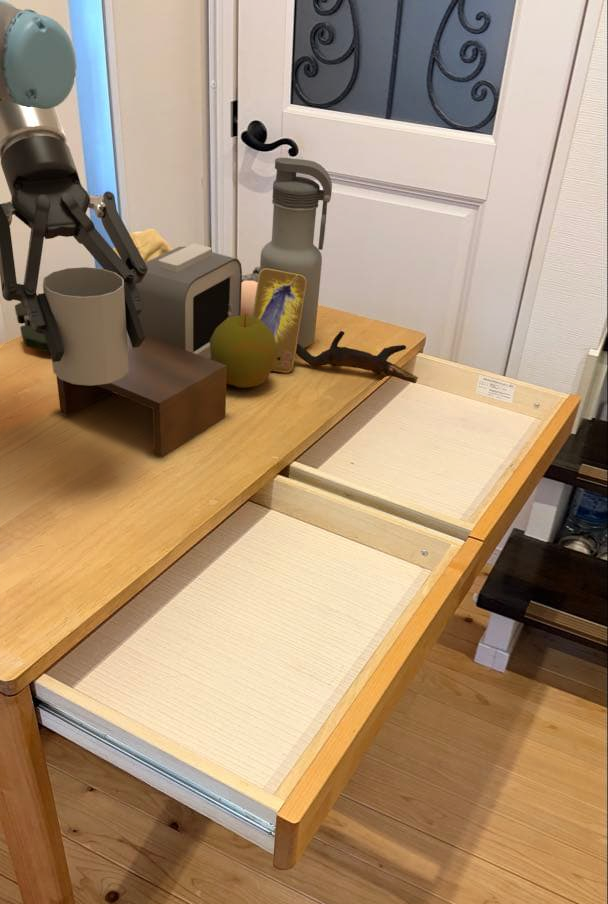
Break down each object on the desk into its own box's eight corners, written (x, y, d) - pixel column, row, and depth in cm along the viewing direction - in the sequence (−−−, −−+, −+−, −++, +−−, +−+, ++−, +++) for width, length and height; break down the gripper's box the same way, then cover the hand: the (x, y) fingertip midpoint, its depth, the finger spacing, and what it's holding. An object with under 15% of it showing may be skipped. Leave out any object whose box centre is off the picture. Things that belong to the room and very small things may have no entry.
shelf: (161, 457, 107) (159, 403, 102) (60, 413, 113) (54, 360, 109) (225, 416, 116) (226, 365, 111) (129, 378, 123) (126, 327, 118)
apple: (196, 380, 124) (196, 310, 117) (241, 362, 130) (244, 295, 123) (243, 404, 119) (245, 333, 112) (288, 384, 125) (293, 316, 118)
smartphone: (259, 266, 125) (259, 267, 126) (244, 365, 127) (244, 366, 128) (308, 275, 126) (307, 276, 127) (292, 374, 128) (292, 374, 129)
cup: (55, 351, 95) (46, 266, 89) (128, 351, 97) (123, 267, 91) (51, 386, 89) (40, 297, 83) (129, 385, 90) (123, 297, 84)
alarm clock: (184, 377, 124) (183, 276, 115) (123, 357, 128) (117, 258, 118) (239, 340, 136) (242, 246, 127) (182, 323, 140) (181, 230, 130)
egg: (266, 280, 144) (284, 315, 142) (238, 303, 147) (255, 338, 144) (246, 266, 138) (265, 302, 136) (217, 290, 141) (235, 326, 138)
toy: (428, 347, 127) (422, 370, 124) (415, 380, 133) (409, 402, 131) (290, 301, 127) (281, 322, 125) (283, 336, 134) (274, 357, 131)
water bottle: (318, 330, 142) (335, 157, 125) (314, 355, 134) (332, 174, 117) (259, 324, 142) (268, 150, 125) (253, 348, 134) (261, 166, 117)
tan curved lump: (157, 320, 144) (116, 281, 135) (124, 298, 151) (84, 259, 142) (198, 269, 143) (160, 227, 135) (164, 250, 151) (125, 208, 142)
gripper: (118, 165, 97) (179, 346, 97) (-70, 178, 87) (-3, 379, 87) (134, 127, 90) (199, 321, 90) (-68, 136, 81) (4, 354, 80)
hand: (99, 349), depth 88 cm, fingers closed on cup, 8 cm apart
